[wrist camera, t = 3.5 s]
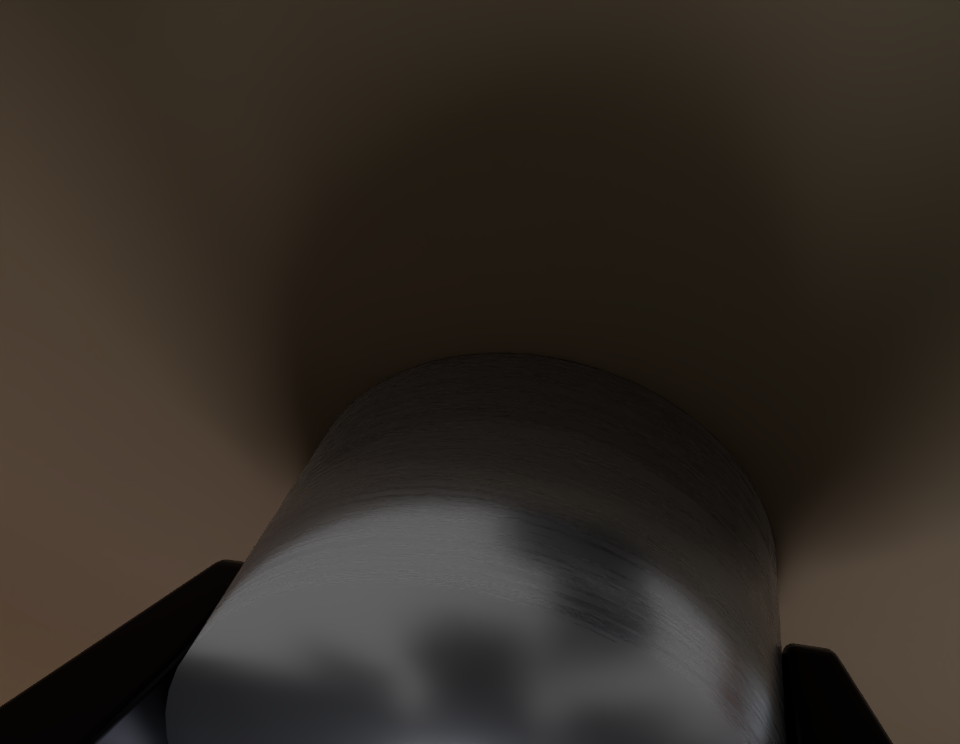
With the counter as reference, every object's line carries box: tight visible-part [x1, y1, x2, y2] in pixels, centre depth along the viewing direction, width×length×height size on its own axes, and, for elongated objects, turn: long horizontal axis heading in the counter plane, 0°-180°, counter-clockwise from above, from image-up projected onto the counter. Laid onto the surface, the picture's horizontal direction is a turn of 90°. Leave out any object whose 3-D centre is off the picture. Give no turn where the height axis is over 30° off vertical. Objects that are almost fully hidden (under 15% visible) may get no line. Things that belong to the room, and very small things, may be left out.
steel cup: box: [165, 353, 787, 744], centre depth 8 cm, size 5×5×3 cm
